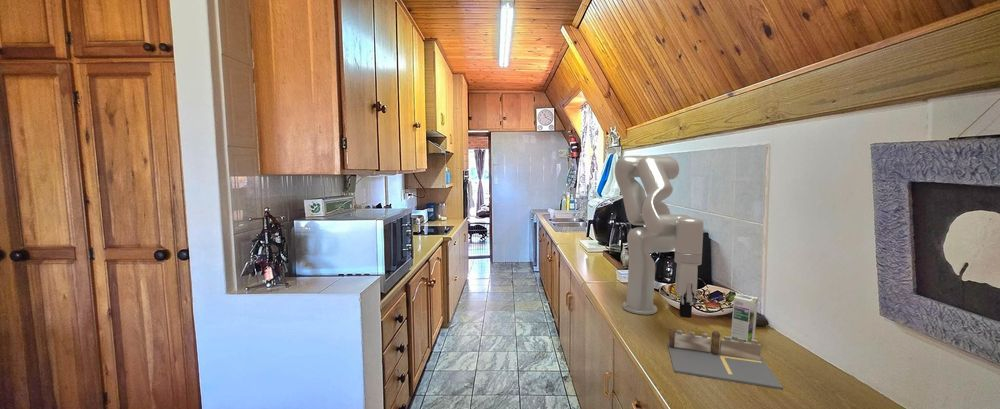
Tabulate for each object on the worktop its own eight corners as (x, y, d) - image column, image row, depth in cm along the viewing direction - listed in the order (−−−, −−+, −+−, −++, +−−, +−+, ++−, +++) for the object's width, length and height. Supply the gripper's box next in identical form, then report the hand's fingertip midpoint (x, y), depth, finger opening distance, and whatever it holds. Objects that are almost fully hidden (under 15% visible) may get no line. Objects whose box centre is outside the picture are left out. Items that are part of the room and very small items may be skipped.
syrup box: (729, 341, 124) (733, 296, 122) (734, 335, 128) (737, 292, 126) (750, 347, 120) (754, 301, 118) (754, 340, 124) (758, 296, 122)
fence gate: (708, 349, 116) (710, 333, 115) (709, 352, 114) (711, 335, 114) (668, 344, 119) (669, 328, 118) (669, 346, 117) (670, 330, 117)
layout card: (666, 342, 122) (667, 340, 122) (758, 355, 115) (759, 353, 115) (674, 372, 105) (674, 369, 105) (782, 389, 98) (782, 387, 98)
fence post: (709, 352, 116) (711, 329, 115) (757, 359, 112) (760, 335, 111) (711, 356, 114) (712, 332, 113) (760, 363, 110) (762, 338, 109)
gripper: (671, 252, 127) (669, 307, 129) (677, 262, 113) (675, 323, 115) (697, 254, 125) (694, 309, 127) (706, 264, 111) (703, 327, 113)
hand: (685, 316), depth 121 cm, fingers closed
